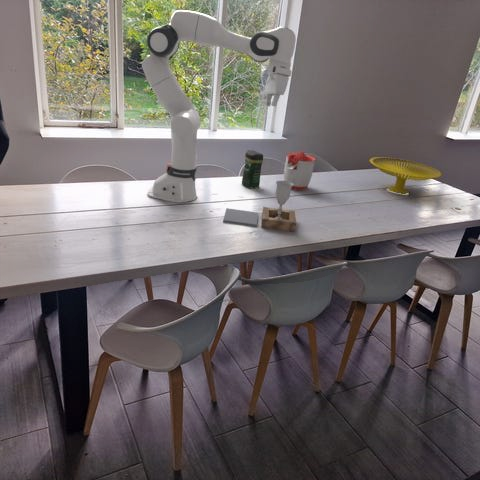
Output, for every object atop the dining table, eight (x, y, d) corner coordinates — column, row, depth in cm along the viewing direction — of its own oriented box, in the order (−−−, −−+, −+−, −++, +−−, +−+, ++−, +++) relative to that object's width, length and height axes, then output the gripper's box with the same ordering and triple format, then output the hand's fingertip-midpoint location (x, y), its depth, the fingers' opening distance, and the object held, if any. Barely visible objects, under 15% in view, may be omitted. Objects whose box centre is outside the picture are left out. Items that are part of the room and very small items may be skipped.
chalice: (274, 227, 180) (281, 186, 172) (266, 220, 185) (272, 180, 177) (289, 225, 183) (296, 185, 175) (280, 219, 188) (287, 180, 181)
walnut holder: (261, 227, 178) (262, 218, 176) (261, 215, 190) (263, 206, 189) (294, 232, 178) (296, 223, 176) (293, 219, 190) (294, 211, 189)
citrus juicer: (273, 185, 232) (279, 149, 223) (291, 181, 244) (297, 146, 236) (297, 194, 223) (304, 156, 215) (315, 189, 236) (322, 153, 227)
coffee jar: (261, 188, 225) (266, 153, 217) (249, 189, 221) (253, 154, 213) (251, 182, 232) (256, 148, 225) (239, 183, 228) (243, 149, 220)
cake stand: (393, 178, 277) (400, 156, 270) (448, 200, 247) (457, 175, 240) (348, 182, 256) (354, 157, 250) (402, 206, 226) (410, 179, 220)
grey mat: (223, 222, 178) (223, 220, 177) (226, 210, 191) (226, 208, 190) (256, 226, 178) (256, 224, 177) (257, 214, 190) (257, 212, 190)
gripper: (264, 71, 184) (257, 104, 187) (277, 67, 164) (269, 104, 168) (278, 74, 185) (271, 107, 189) (293, 71, 166) (284, 108, 170)
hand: (270, 106), depth 178 cm, fingers open, 8 cm apart
